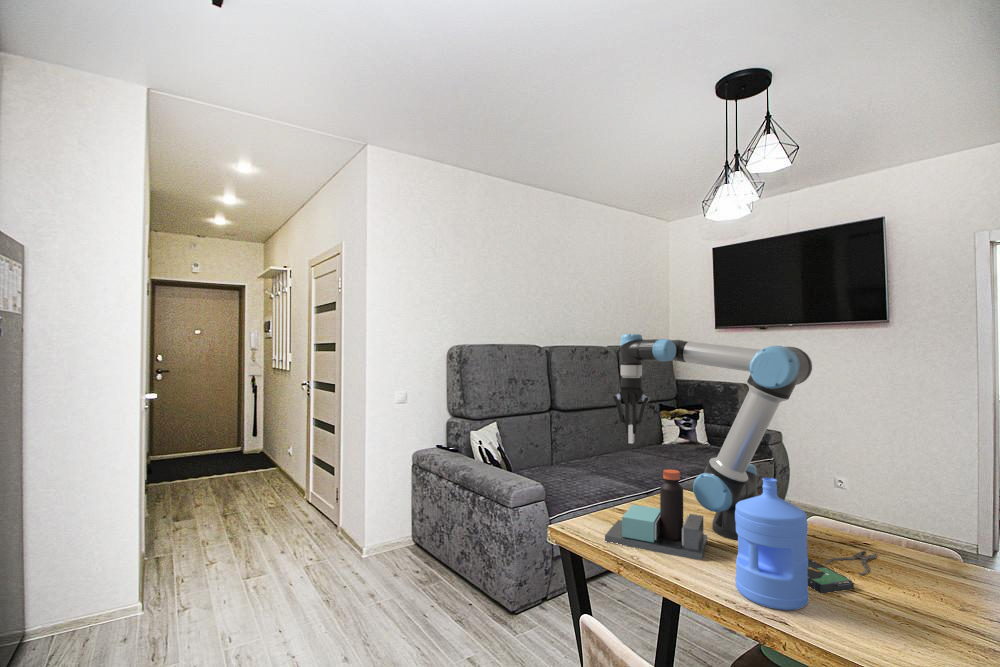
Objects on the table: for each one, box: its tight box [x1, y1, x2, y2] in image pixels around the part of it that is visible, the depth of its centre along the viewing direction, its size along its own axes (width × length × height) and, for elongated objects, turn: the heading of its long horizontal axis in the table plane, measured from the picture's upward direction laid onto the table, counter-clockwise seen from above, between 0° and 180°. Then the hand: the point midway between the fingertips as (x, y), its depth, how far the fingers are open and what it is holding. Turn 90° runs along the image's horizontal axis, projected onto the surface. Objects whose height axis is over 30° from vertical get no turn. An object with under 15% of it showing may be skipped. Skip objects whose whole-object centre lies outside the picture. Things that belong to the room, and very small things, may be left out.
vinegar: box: [659, 469, 684, 540], centre depth 153 cm, size 7×7×20 cm
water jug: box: [735, 477, 810, 611], centre depth 121 cm, size 16×16×28 cm
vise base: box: [604, 513, 708, 561], centre depth 153 cm, size 28×16×8 cm, turn 62°
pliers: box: [824, 549, 878, 576], centre depth 141 cm, size 10×1×20 cm
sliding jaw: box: [621, 504, 660, 543], centre depth 155 cm, size 10×14×6 cm
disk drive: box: [808, 558, 855, 594], centre depth 129 cm, size 10×3×15 cm
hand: (631, 442), depth 177 cm, fingers closed
